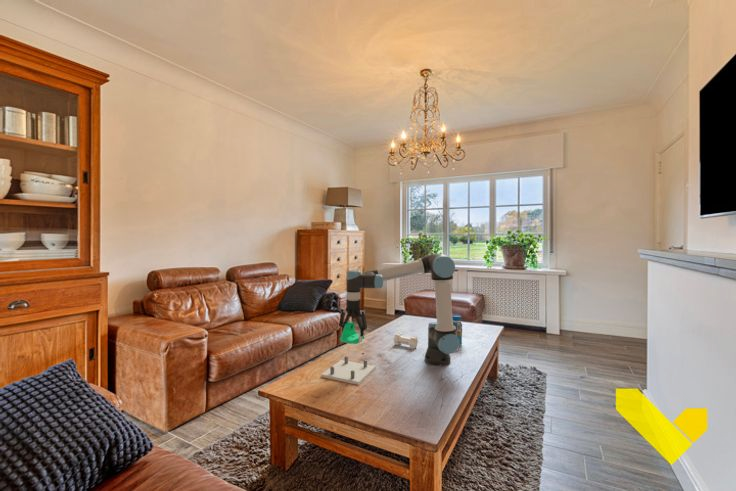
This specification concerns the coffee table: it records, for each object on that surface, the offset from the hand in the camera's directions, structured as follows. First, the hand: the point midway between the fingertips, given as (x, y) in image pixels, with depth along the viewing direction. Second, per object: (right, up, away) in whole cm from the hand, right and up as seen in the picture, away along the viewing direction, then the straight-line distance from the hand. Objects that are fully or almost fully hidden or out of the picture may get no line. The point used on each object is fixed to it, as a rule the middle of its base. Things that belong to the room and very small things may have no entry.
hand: (352, 340), depth 183 cm
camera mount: (0, -1, 0) cm, 1 cm away
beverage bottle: (+69, -17, +50) cm, 87 cm away
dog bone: (+34, -17, +45) cm, 59 cm away
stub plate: (-2, -18, +2) cm, 18 cm away
